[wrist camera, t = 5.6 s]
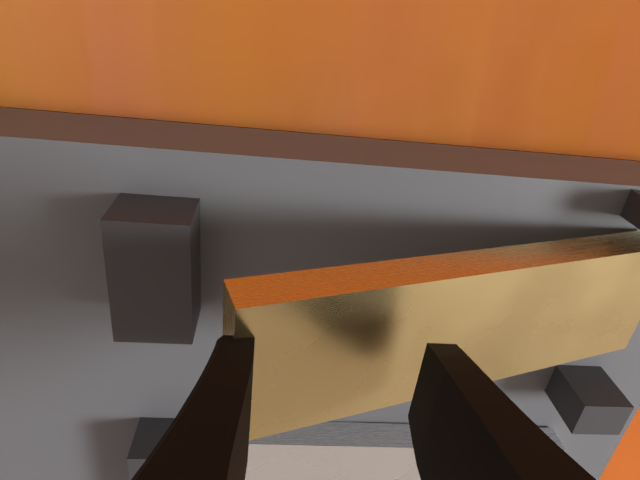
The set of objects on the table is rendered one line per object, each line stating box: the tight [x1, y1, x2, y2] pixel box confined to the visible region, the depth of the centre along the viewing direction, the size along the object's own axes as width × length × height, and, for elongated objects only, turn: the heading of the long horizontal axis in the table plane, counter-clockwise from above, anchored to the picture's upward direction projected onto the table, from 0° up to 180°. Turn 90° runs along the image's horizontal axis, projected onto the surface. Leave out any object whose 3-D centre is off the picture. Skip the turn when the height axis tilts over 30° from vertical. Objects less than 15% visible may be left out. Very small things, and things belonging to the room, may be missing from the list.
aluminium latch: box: [245, 422, 566, 480], centre depth 18 cm, size 12×4×1 cm, turn 84°
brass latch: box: [222, 231, 640, 441], centre depth 12 cm, size 12×4×1 cm, turn 83°
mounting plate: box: [0, 107, 640, 480], centre depth 16 cm, size 14×24×4 cm, turn 84°
